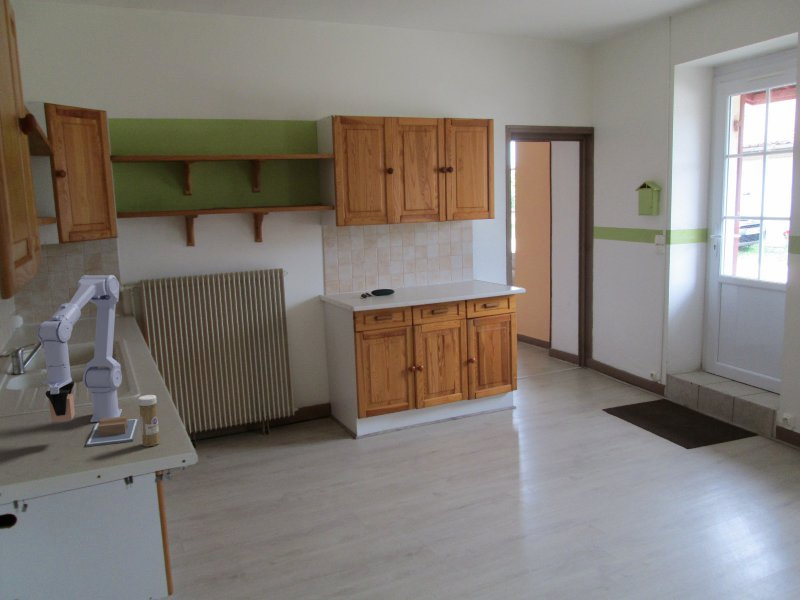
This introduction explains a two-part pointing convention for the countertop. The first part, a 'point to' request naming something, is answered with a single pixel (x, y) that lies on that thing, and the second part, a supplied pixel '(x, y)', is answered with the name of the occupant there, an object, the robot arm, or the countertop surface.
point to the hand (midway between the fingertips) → (62, 412)
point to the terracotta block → (69, 410)
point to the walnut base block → (112, 426)
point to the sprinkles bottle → (149, 420)
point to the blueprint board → (112, 439)
